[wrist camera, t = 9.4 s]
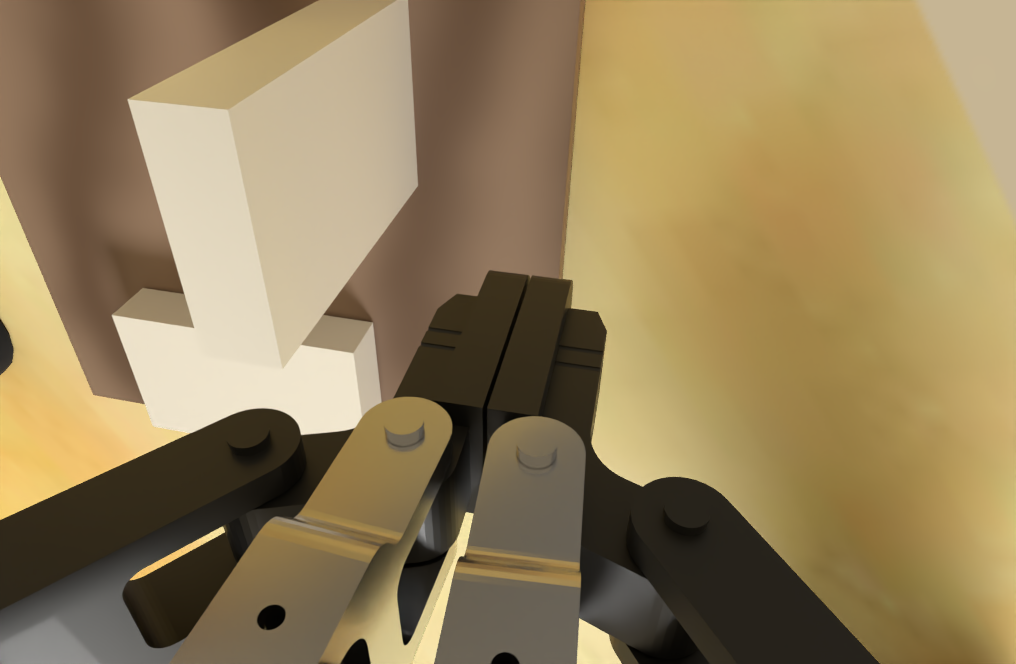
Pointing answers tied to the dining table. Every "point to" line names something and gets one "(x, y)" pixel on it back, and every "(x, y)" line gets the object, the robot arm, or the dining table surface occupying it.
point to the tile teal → (246, 371)
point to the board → (404, 244)
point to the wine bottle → (5, 349)
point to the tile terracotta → (282, 170)
